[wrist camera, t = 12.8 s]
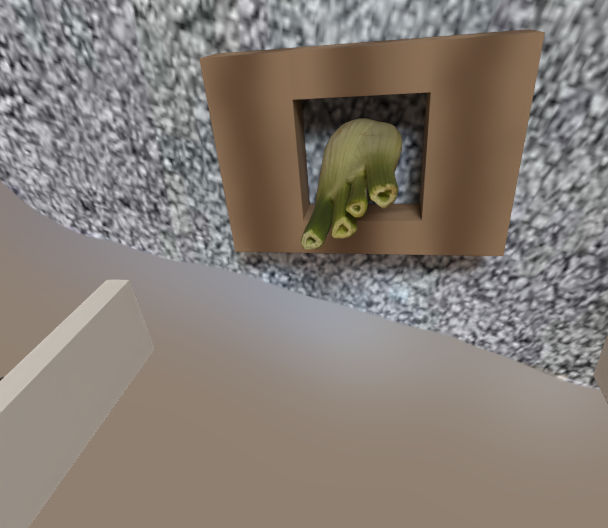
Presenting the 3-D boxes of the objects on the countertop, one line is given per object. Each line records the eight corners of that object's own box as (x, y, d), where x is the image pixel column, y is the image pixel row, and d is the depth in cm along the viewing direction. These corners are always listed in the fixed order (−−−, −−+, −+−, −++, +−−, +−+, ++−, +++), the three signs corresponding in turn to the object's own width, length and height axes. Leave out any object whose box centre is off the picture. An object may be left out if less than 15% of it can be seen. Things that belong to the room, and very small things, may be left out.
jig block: (529, 29, 25) (544, 32, 23) (494, 236, 33) (503, 256, 30) (215, 53, 29) (199, 58, 27) (246, 234, 36) (235, 251, 34)
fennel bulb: (329, 184, 33) (301, 265, 23) (316, 120, 30) (279, 178, 20) (405, 174, 31) (411, 255, 21) (399, 105, 29) (402, 160, 19)
